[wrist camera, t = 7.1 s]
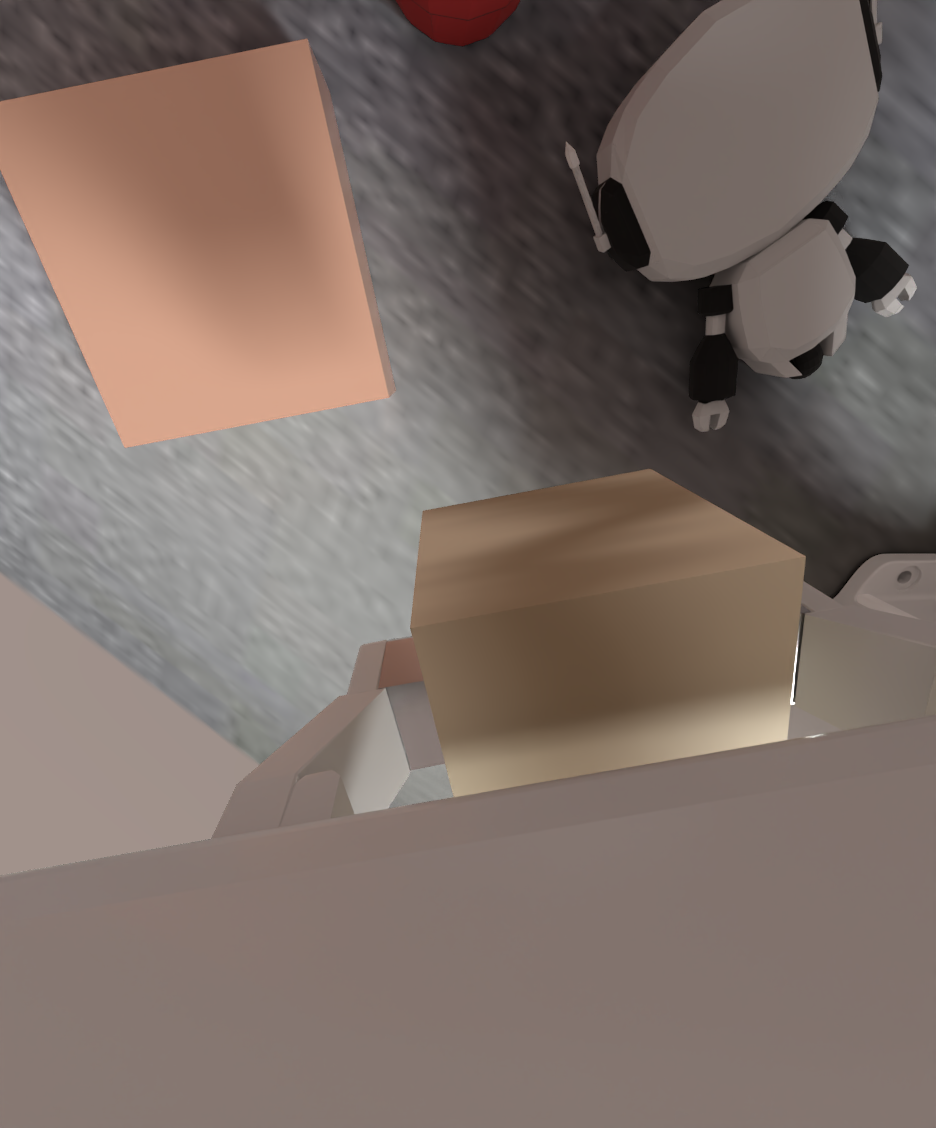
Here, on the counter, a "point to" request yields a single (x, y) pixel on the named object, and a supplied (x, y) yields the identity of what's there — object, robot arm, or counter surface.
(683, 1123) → the robot arm
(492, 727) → the maple cube
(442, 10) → the plastic cup
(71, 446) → the counter surface
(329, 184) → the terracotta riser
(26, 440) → the counter surface
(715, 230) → the robot toy
